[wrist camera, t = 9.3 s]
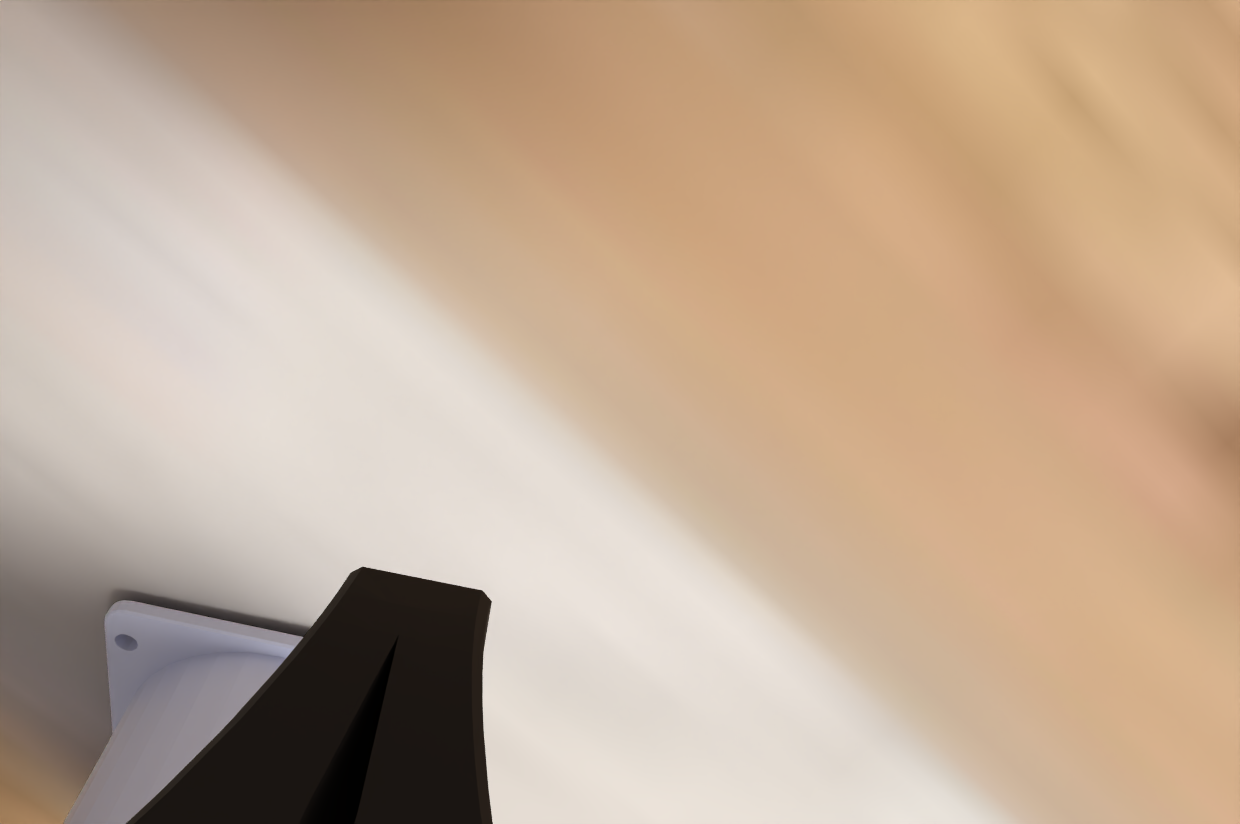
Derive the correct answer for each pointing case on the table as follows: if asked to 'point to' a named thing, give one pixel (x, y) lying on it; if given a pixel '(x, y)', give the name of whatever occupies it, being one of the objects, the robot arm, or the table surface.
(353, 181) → the table surface
